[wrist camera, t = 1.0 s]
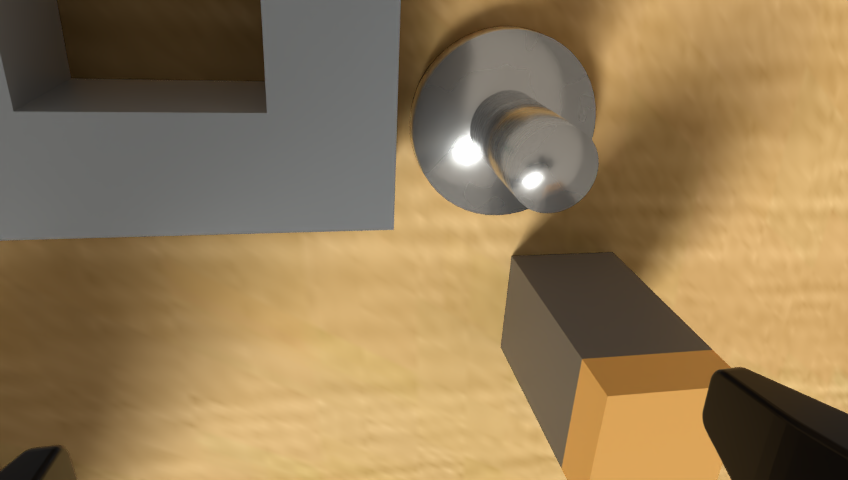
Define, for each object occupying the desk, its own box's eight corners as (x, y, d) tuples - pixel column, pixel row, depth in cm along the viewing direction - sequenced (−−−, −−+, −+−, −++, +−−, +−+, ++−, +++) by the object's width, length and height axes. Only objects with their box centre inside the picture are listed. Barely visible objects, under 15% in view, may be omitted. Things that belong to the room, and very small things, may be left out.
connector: (595, 340, 25) (711, 495, 18) (500, 347, 24) (582, 510, 17) (612, 252, 24) (748, 385, 16) (511, 256, 23) (607, 396, 16)
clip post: (571, 204, 22) (639, 268, 18) (406, 208, 21) (434, 277, 17) (599, 29, 20) (686, 53, 15) (413, 22, 19) (448, 46, 14)
